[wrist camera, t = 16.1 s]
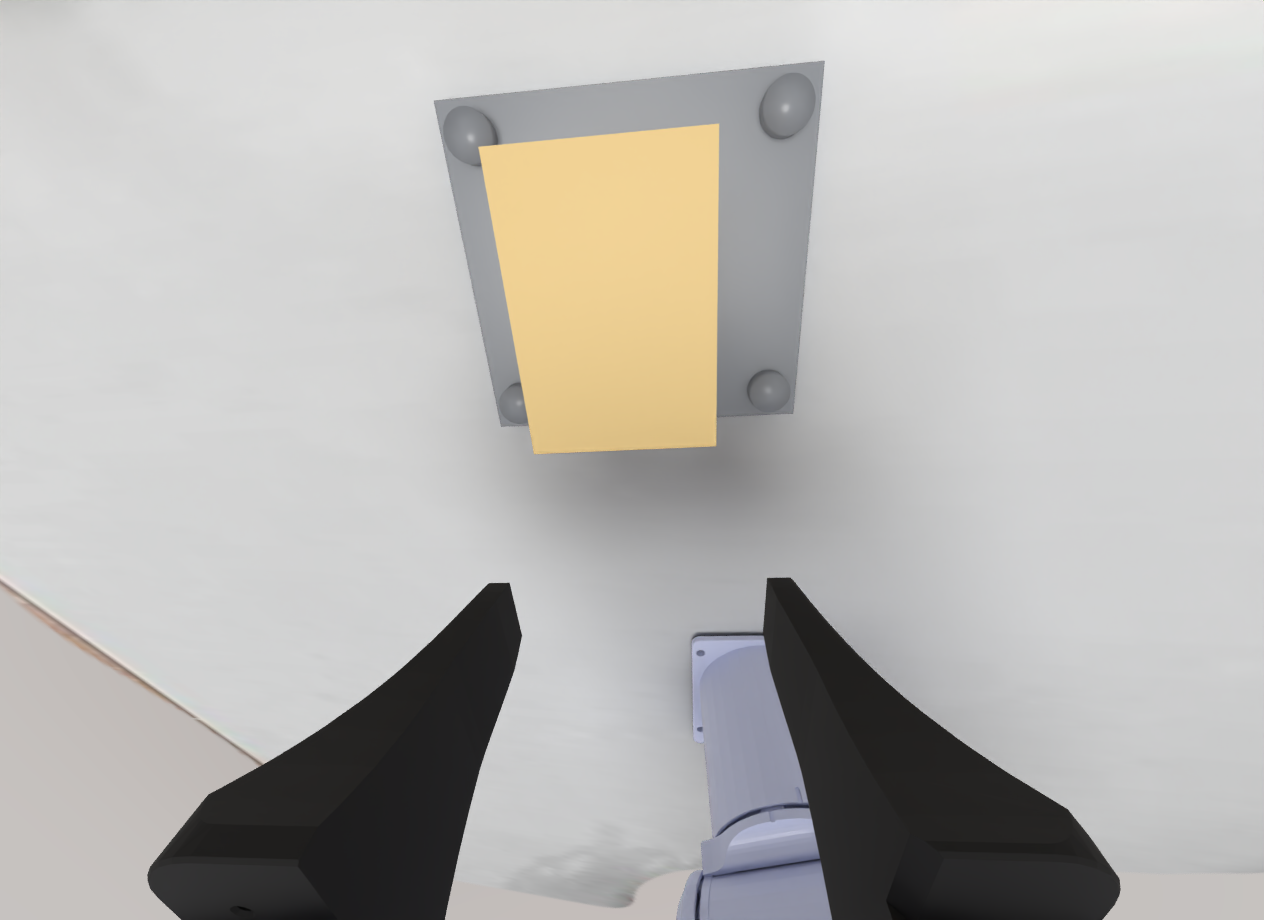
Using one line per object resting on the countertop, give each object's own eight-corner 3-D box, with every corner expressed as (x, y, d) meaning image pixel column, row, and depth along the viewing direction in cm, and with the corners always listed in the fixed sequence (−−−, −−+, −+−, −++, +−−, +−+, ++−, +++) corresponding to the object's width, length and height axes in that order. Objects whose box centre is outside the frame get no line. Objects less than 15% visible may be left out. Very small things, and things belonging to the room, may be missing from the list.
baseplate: (787, 405, 21) (798, 420, 19) (507, 418, 22) (495, 433, 20) (815, 70, 16) (833, 52, 14) (445, 107, 17) (423, 94, 15)
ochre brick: (699, 384, 15) (716, 446, 10) (569, 391, 15) (534, 453, 11) (697, 162, 12) (719, 123, 8) (540, 177, 12) (478, 146, 8)
